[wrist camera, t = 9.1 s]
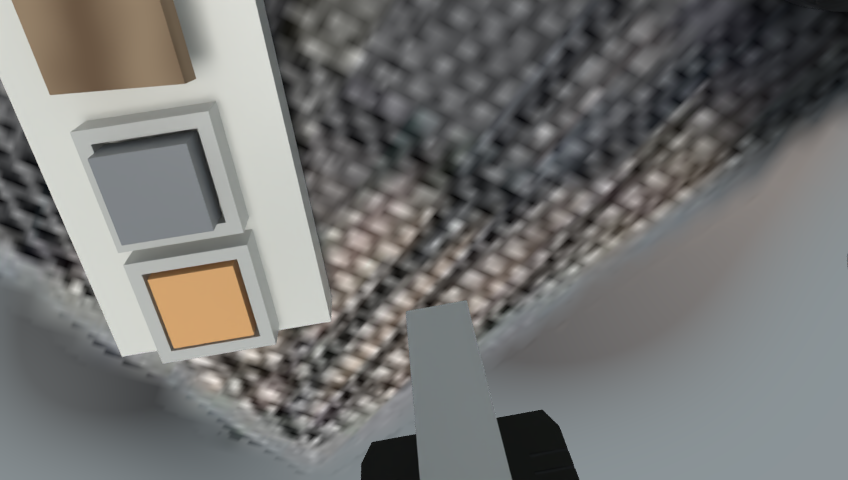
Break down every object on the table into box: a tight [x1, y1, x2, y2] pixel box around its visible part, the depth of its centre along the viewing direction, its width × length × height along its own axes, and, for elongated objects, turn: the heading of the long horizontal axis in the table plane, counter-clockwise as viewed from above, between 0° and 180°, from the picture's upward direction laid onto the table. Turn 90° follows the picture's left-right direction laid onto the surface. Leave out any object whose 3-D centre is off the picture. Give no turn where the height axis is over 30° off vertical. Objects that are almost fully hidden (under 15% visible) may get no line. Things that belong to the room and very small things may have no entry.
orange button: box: [148, 259, 257, 348], centre depth 38 cm, size 5×5×2 cm
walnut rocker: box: [12, 0, 196, 95], centre depth 30 cm, size 8×5×1 cm, turn 97°
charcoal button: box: [88, 130, 222, 246], centre depth 33 cm, size 5×5×2 cm
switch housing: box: [0, 0, 332, 363], centre depth 36 cm, size 14×24×5 cm, turn 7°
